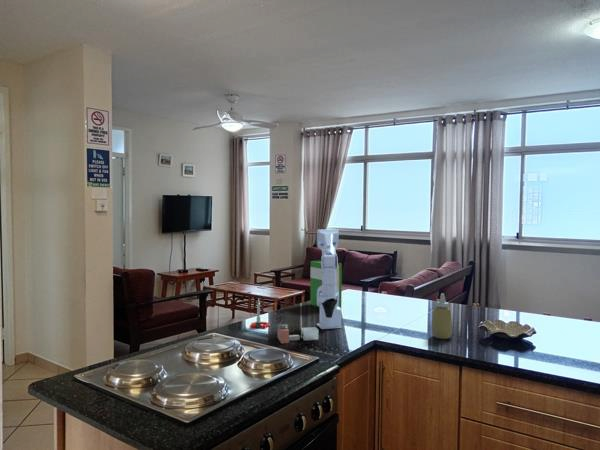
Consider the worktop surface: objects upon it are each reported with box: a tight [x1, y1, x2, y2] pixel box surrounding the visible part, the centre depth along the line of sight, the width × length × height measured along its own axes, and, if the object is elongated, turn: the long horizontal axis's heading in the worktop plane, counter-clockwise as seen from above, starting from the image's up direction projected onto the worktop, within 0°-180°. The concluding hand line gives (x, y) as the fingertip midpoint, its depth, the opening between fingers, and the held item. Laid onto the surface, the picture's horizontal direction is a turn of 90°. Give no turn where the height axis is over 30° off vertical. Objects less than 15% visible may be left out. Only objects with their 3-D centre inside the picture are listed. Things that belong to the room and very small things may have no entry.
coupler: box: [277, 323, 301, 344], centre depth 172 cm, size 8×8×6 cm
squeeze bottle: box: [431, 293, 453, 340], centre depth 177 cm, size 8×8×18 cm
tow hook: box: [250, 298, 271, 329], centre depth 193 cm, size 8×13×9 cm
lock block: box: [300, 326, 319, 341], centre depth 174 cm, size 6×4×4 cm, turn 104°
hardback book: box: [309, 260, 343, 310], centre depth 234 cm, size 18×7×24 cm, turn 36°
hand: (328, 317), depth 175 cm, fingers closed
